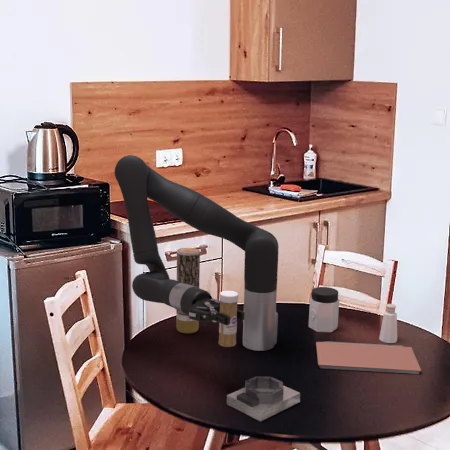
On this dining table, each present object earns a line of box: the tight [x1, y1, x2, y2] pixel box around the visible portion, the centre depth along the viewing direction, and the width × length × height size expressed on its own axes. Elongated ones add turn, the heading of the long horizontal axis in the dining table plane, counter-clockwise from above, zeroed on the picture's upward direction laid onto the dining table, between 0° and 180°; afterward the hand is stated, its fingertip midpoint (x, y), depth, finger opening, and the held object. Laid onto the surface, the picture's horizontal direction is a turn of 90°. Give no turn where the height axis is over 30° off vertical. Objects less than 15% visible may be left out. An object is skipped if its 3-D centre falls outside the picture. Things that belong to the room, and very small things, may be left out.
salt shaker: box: [378, 303, 398, 344], centre depth 208 cm, size 5×5×11 cm
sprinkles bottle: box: [218, 290, 239, 348], centre depth 174 cm, size 5×5×13 cm
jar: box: [308, 286, 340, 333], centre depth 216 cm, size 9×8×12 cm
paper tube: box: [175, 247, 201, 334], centre depth 210 cm, size 7×7×25 cm
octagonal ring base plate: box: [226, 376, 301, 422], centre depth 169 cm, size 14×11×5 cm
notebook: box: [315, 340, 422, 375], centre depth 196 cm, size 27×17×2 cm, turn 85°
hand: (236, 318), depth 172 cm, fingers closed on sprinkles bottle, 4 cm apart
